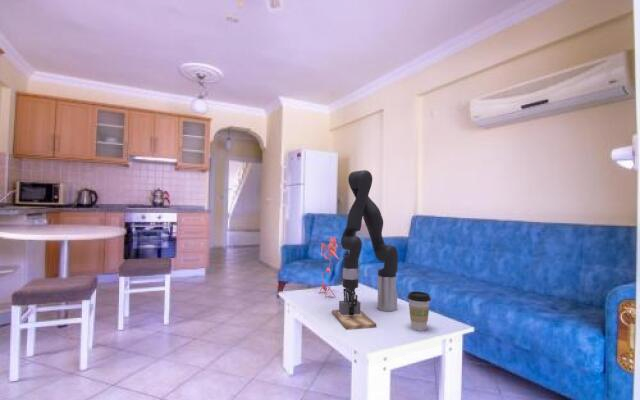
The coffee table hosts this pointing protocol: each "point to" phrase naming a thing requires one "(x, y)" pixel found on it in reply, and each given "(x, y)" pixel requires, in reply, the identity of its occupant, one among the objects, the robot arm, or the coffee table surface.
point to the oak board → (354, 321)
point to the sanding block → (345, 309)
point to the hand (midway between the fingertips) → (349, 312)
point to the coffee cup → (419, 310)
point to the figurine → (332, 250)
